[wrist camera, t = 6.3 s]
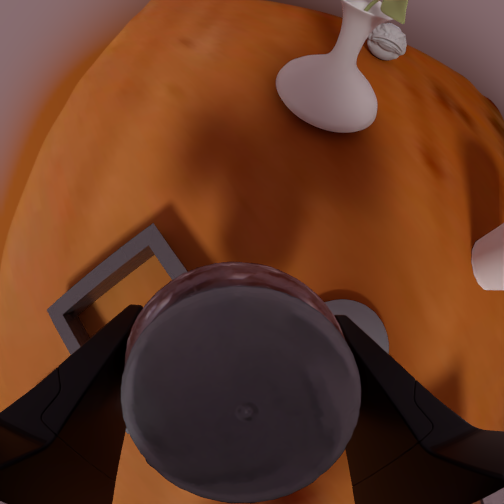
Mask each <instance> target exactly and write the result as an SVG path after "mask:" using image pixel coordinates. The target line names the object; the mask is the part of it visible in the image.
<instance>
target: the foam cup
mask: <svg viewBox="0 0 504 504" xmlns="http://www.w3.org/2000/svg"><path fill="white" fill-rule="evenodd" d="M471 262H472V267H473V272H474V276H475V278H476V280H477V282H478V284H479V285H480V286H481V287H482V288H483V289H484V290H504V223H503V224H501V225H500V226H498V227H497V228H495V229H494V230H492V231H491V232H489V233H488V234H486V235H485V236H483V237H482V238H480V239H479V240H477V241H476V242H475V244H474V247H473V249H472V261H471Z"/></svg>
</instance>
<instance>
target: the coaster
mask: <svg viewBox="0 0 504 504" xmlns="http://www.w3.org/2000/svg"><path fill="white" fill-rule="evenodd" d="M324 303H325V304H326V305H327V306H328V308H329V309H330V310H331V311H332V313H333V315H346V316H348V317H349V318H350V319H351V320H352V321H353V322H354V323H355V324H356V325H357V326H359V327H360V328H361V329H362V330H363V331H364V332H365V333H366V334H367V335H368V336H369V337H371V338H372V339H373V340H374V341H375V342H376V343H377V344H378V345H379V346H380V347H381V348H383V349H384V350H385V351H386V352H387V353H388V354H389V342H388V336H387V333H386V330H385V327H384V325H383V323H382V322H381V320H380V318H379V317H378V316H377V315H376V313H375V312H373V311H372V310H371V309H370V308H369V307H367V306H366V305H364V304H362V303H359V302H356V301H353V300H346V299H339V300H332V301H328V302H324Z"/></svg>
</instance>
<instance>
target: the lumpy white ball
mask: <svg viewBox="0 0 504 504" xmlns="http://www.w3.org/2000/svg"><path fill="white" fill-rule="evenodd" d="M405 36H406V35H405V34H404V33H402V32H401V29H400V28H399V27H398V26H395V25H394V24H391V23H388V24H384V23H382V24H380V25H379V26H377V27H376V28H375V29H374V30H373V31H372V32H371V33H370V34H369V36H368V37H367V44H368V47H369V50H370V51H371V53H372V54H373V55H374V56H376V57H377V58H379V59H382V60H392V59H396V58H397V57H398V56H400V55H403V54H404V53H405V51H406V46H407V44H406V38H405Z"/></svg>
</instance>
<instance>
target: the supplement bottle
mask: <svg viewBox="0 0 504 504" xmlns="http://www.w3.org/2000/svg"><path fill="white" fill-rule="evenodd" d="M121 404H122V412H123V419H124V421H125V424H126V427H127V429H128V431H129V434H130V436H131V438H132V440H133V441H134V443H135V445H136V446H137V448H138V450H139V451H140V453H141V454H142V455H143V456H144V457H145V459H146V462H147V463H148V464H149V465H150V466H151V467H153V468H154V469H156V470H157V471H158V472H159V473H160V474H161V475H162V476H163V477H164V478H165V479H167V480H168V481H170V482H171V483H173V484H174V485H176V486H177V487H179V488H181V489H184V490H187V491H189V492H191V493H193V494H195V495H198V496H200V497H203V498H207V499H212V500H217V501H221V502H227V503H255V502H261V501H268V500H274V499H277V498H279V497H283V496H287V495H289V494H291V493H293V492H295V491H297V490H300V489H302V488H304V487H306V486H308V485H309V484H311V483H313V482H314V481H315V480H316V479H317V478H318V477H319V476H320V475H322V474H323V473H324V472H326V471H327V470H328V469H329V468H330V467H331V466H332V465H333V464H334V463H335V462H336V460H337V459H338V458H339V457H340V456H341V454H342V453H343V452H344V450H345V448H346V446H347V443H348V442H349V440H350V439H351V437H352V434H353V431H354V429H355V427H356V425H357V421H358V417H359V409H360V406H361V383H360V375H359V370H358V367H357V364H356V361H355V358H354V356H353V353H352V352H351V350H350V348H349V346H348V344H347V342H346V341H345V338H344V335H343V333H342V330H341V328H340V325H339V323H338V322H337V320H336V318H335V316H334V315H333V313H332V311H331V310H330V309H329V308H328V306H327V305H326V304H325V303H324V302H323V300H322V299H321V298H320V297H319V296H318V295H317V294H316V293H315V292H313V291H312V290H311V289H310V288H309V287H308V286H306V285H305V284H304V283H302V282H301V281H299V280H298V279H296V278H294V277H292V276H290V275H288V274H286V273H284V272H282V271H280V270H278V269H274V268H272V267H269V266H265V265H261V264H255V263H243V262H222V263H214V264H211V265H208V266H203V267H199V268H196V269H194V270H191V271H189V272H186V273H183V274H181V275H180V276H178V277H177V278H175V279H174V280H172V281H170V282H169V283H168V284H167V285H165V286H164V287H163V288H162V289H160V290H159V291H158V292H157V293H156V294H155V295H154V296H153V297H152V298H151V299H150V300H149V301H148V302H147V304H146V305H145V306H144V308H143V309H142V311H141V312H140V313H139V315H138V317H137V319H136V320H135V323H134V324H133V326H132V329H131V332H130V336H129V338H128V341H127V349H126V353H125V367H124V372H123V375H122V385H121Z"/></svg>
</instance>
